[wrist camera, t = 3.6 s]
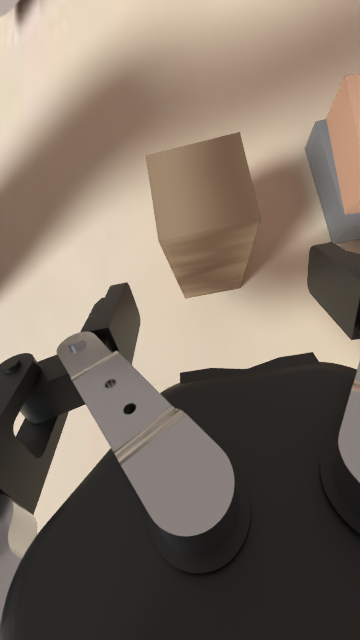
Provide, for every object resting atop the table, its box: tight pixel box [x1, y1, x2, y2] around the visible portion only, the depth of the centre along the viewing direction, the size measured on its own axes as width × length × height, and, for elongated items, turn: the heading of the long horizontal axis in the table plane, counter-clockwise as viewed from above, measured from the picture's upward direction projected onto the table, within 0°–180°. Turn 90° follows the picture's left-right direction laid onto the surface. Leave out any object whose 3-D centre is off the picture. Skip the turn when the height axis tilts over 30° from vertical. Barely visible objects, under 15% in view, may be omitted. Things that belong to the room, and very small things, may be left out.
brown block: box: [146, 132, 260, 298], centre depth 17 cm, size 4×4×10 cm
